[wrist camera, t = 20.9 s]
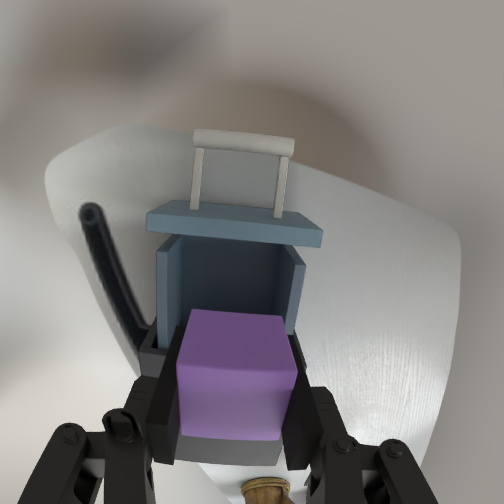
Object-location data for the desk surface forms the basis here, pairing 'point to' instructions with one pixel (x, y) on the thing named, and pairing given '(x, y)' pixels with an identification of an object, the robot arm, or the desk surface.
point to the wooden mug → (266, 491)
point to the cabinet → (210, 447)
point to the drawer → (230, 246)
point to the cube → (234, 376)
